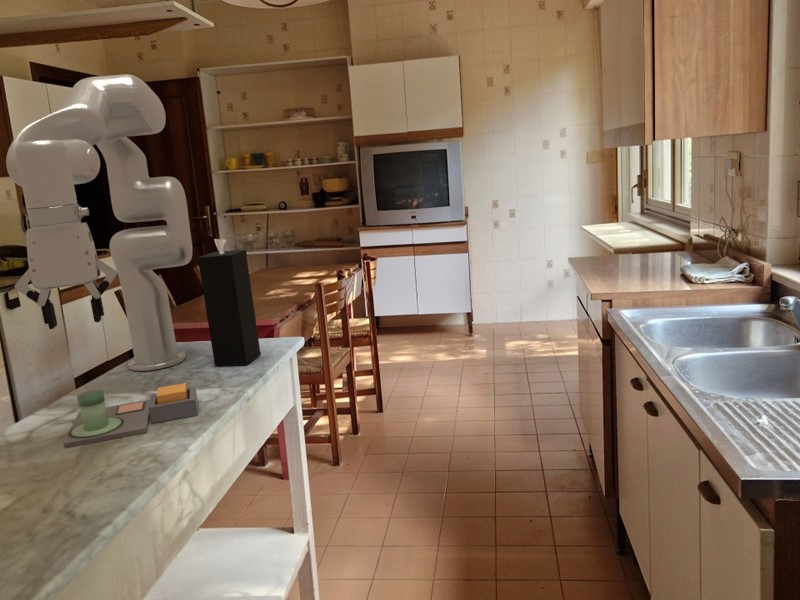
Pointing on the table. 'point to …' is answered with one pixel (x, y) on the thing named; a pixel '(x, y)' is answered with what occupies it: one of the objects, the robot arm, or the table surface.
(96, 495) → the table surface
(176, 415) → the button housing
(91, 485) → the table surface
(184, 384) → the button
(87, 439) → the colouring board
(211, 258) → the tissue box
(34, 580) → the table surface
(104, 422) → the green capped cylinder
